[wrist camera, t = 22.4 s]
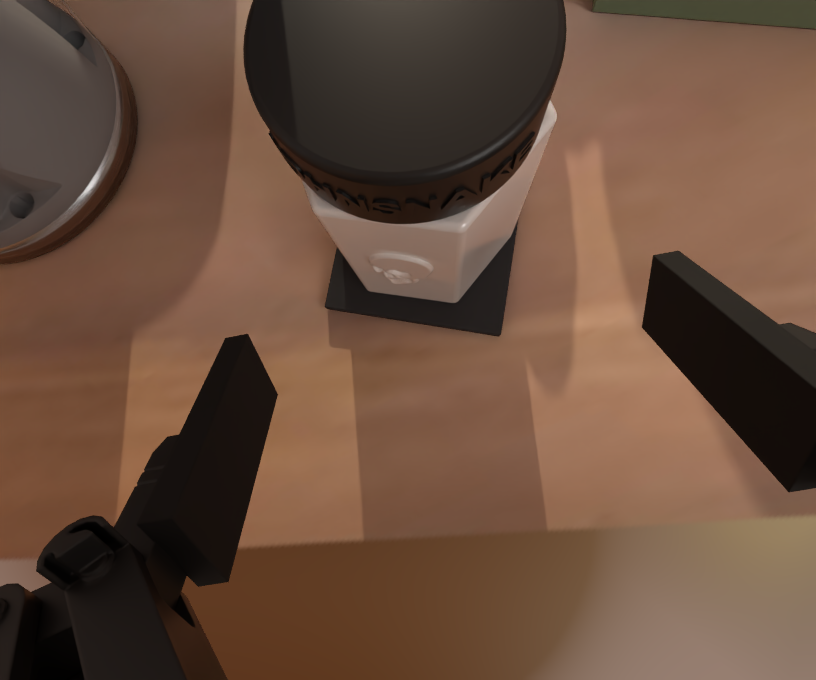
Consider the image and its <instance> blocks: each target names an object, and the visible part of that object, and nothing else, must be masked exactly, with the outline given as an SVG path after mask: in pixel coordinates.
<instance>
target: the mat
mask: <svg viewBox="0 0 816 680" xmlns="http://www.w3.org/2000/svg"><path fill="white" fill-rule="evenodd" d="M517 224H518V220H517V223H516V225H515V228H514V231H513V233H512V235H511V237H510V238H509V239H508V241H507V242H506V243H505V244H504V245H503V247H502V248H501V249H500V250H499V252H498V253H497V254H496V255H495V257H494V258H493V259H492V260H491V261H490V263H489V264H488V265H487V266H486V268H485V269H484V270H483V271H482V273H481V274H480V275H479V276H478V277H477V279H476V280H475V281H474V282H473V284H472V285H471V286H470V287H469V289H468V290H467V291H466V292H465V294H464V295H463V296H462V297H461V298H460V300H459V301H458V302H456V303H449V302H442V301H435V300H427V299H420V298H413V297H406V296H399V295H391V294H384V293H377V292H370V291H368V290H367V289H366V288H365V287H364V285H363V284H362V282H361V281H360V279H359V278H358V276H357V275H356V273H355V272H354V271H353V269H352V268H351V266H350V265H349V263H348V262H347V260H346V259H345V258H344V256H343V255H342V253H341V252H340V250H339V249H338V247H337V250H336V255H335V259H334V264H333V269H332V274H331V279H330V284H329V289H328V293H327V298H326V303H325V307H326V308H327V309H330V310H337V311H343V312H349V313H355V314H362V315H368V316H374V317H381V318H387V319H393V320H399V321H406V322H412V323H418V324H424V325H431V326H437V327H443V328H449V329H456V330H462V331H468V332H475V333H481V334H487V335H493V336H500V335H501V330H502V324H503V317H504V310H505V304H506V297H507V290H508V284H509V277H510V271H511V264H512V257H513V251H514V244H515V237H516V231H517Z"/></svg>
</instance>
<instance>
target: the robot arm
mask: <svg viewBox="0 0 816 680" xmlns="http://www.w3.org/2000/svg"><path fill="white" fill-rule="evenodd" d="M61 1H62V2H63V4H64V5H65V6H66V7H67V9H68V10H69V11H70V12H71V14H72V15H73V16H74V17H75V18H73V17H72V16H70V15H69V14H68V13H66V12H65V11H63V10H62V9H60V8H59V7H57V6H55V5H54V4H52V3H50V2H49V1H47V0H0V264H9V263H15V262H20V261H25V260H28V259H31V258H35V257H38V256H40V255H43V254H45V253H47V252H50V251H52V250H54V249H55V248H57V247H59V246H61V245H63V244H64V243H66V242H67V241H69V240H71V239H72V238H73V237H75V236H76V235H77V234H79V233H80V232H81V231H83V230H84V229H85V228H86V227H87V226H88V225H89V224H90V223H92V222H93V221H94V220H95V218H96V217H97V216H98V215H99V214H100V213H101V212H102V211H103V210H104V208H105V207H106V206H107V205H108V203H109V202H110V201H111V199H112V198H113V196H114V195H115V193H116V192H117V190H118V188H119V186H120V185H121V183H122V181H123V179H124V177H125V174H126V172H127V170H128V167H129V165H130V162H131V159H132V156H133V152H134V147H135V143H136V135H137V107H136V102H135V96H134V93H133V90H132V86H131V84H130V81H129V79H128V77H127V75H126V73H125V71H124V70H123V68H122V66H121V65H120V63H119V62H118V61H117V59H116V58H115V57H114V56H113V55H112V54H111V53H110V52H109V51H108V50H107V49H106V48H105V46H104V45H103V44H102V43H101V42H100V41H99V40H98V39H97V38H96V37H95V36H94V35H93V34H92V33H91V32H90V31H89V30H88V29H87V28H86V27H85V26H84V25H83V23H82V22H81V21H80V20H79V18H78V17H77V16H76V15H75V13H74V12H73V11H72V10H71V8H70V7H69V6H68V5H67V3H66V2H65V1H64V0H61ZM642 328H643V329H644V330H645V331H646V332H647V334H648V335H649V336H650V337H651V338H652V339H653V340H654V341H655V343H656V344H657V345H658V346H659V347H660V348H661V349H662V350H663V352H664V353H665V354H666V355H667V356H668V357H669V358H670V359H671V360H672V362H673V363H674V364H675V365H676V366H677V367H678V368H679V369H680V371H681V372H682V373H683V374H684V375H685V376H686V377H687V378H688V380H689V381H690V382H691V383H692V384H693V385H694V386H695V387H696V389H697V390H698V391H699V392H700V393H701V394H702V395H703V396H704V398H705V399H706V400H707V401H708V402H709V403H710V404H711V405H712V407H713V408H714V409H715V410H716V411H717V412H718V413H719V414H720V416H721V417H722V418H723V419H724V420H725V421H726V422H727V423H728V425H729V426H730V427H731V428H732V429H733V430H734V431H735V432H736V434H737V435H738V436H739V437H740V438H741V439H742V440H743V441H744V443H745V444H746V445H747V446H748V447H749V448H750V449H751V450H752V452H753V453H754V454H755V455H756V456H757V457H758V458H759V459H760V461H761V462H762V463H763V464H764V465H765V466H766V467H767V468H768V470H769V471H770V472H771V473H772V474H773V475H774V476H775V477H776V479H777V480H778V481H779V482H780V483H781V484H782V485H783V486H784V488H785V489H786V490H787V491H788V492H794V491H800V490H806V489H812V488H816V333H814V332H812V331H809V330H807V329H804V328H802V327H799V326H797V325H794V324H792V323H786V324H780V325H779V324H777V323H776V322H775V321H773V320H772V319H770V318H769V317H768V316H766V315H765V314H764V313H762V312H761V311H760V310H758V309H757V308H756V307H754V306H753V305H751V304H750V303H749V302H747V301H746V300H745V299H743V298H742V297H741V296H739V295H738V294H737V293H735V292H734V291H732V290H731V289H730V288H728V287H727V286H726V285H724V284H723V283H722V282H720V281H719V280H718V279H716V278H715V277H713V276H712V275H711V274H709V273H708V272H707V271H705V270H704V269H703V268H701V267H700V266H699V265H697V264H696V263H694V262H693V261H692V260H690V259H689V258H688V257H686V256H685V255H684V254H682V253H681V252H680V251H674V252H669V253H663V254H658V255H653V260H652V267H651V273H650V279H649V286H648V292H647V298H646V305H645V311H644V317H643V324H642ZM277 395H278V394H277V392H276V390H275V388H274V386H273V384H272V382H271V380H270V378H269V376H268V374H267V372H266V370H265V368H264V365H263V363H262V361H261V359H260V357H259V355H258V353H257V351H256V349H255V347H254V345H253V343H252V341H251V339H250V337H249V335H248V334H244V335H239V336H234V337H229V338H225V340H224V342H223V344H222V346H221V349H220V351H219V353H218V355H217V357H216V359H215V361H214V363H213V365H212V367H211V369H210V371H209V374H208V376H207V378H206V380H205V382H204V384H203V386H202V388H201V390H200V392H199V394H198V397H197V399H196V401H195V403H194V405H193V407H192V409H191V411H190V413H189V415H188V417H187V420H186V422H185V424H184V426H183V428H182V430H181V432H180V434H179V435H174V436H169V437H167V438H166V439H165V440H164V441H163V442H162V443H161V444H160V445H159V446H158V448H157V449H156V450H155V451H154V452H153V453H152V455H151V457H150V459H149V461H148V463H147V465H146V467H145V469H144V470H145V472H144V473H142V474H141V476H140V478H139V480H138V482H137V486H136V487H135V488H134V490H133V492H132V494H131V496H130V497H129V499H128V501H127V503H126V505H125V507H124V509H123V511H122V513H121V515H120V517H119V519H118V521H117V522H116V524H115V526H114V527H113V526H111V525H110V524H109V523H108V522H107V521H106V520H105V519H104V518H103V517H101V516H89V517H85V518H82V519H79V520H77V521H76V522H74V523H72V524H70V525H68V526H67V527H65V528H64V529H63V530H62V531H60V532H59V533H58V534H57V535H55V536H54V537H53V539H52V540H51V541H50V542H49V543H48V544H47V545H46V547H45V548H44V549H43V551H42V553H41V555H40V557H39V559H38V561H37V569H36V571H37V572H38V573H39V574H41V575H42V576H44V577H45V578H46V579H48V580H49V581H51V582H52V583H50V584H48V585H45V586H43V587H41V588H39V589H37V590H34V591H32V592H30V591H28V590H27V589H25V588H24V587H22V586H21V585H19V584H6V585H3V586H1V587H0V680H228V679H227V677H226V675H225V673H224V671H223V669H222V667H221V665H220V663H219V661H218V659H217V657H216V655H215V653H214V651H213V649H212V647H211V645H210V643H209V641H208V639H207V637H206V635H205V633H204V631H203V629H202V627H201V625H200V623H199V621H198V619H197V616H196V614H195V612H194V610H193V608H192V606H191V604H190V602H189V600H188V598H187V597H186V596H185V595H184V594H183V593H182V592H181V590H182V587H183V584H184V582H185V579H186V576H188V577H189V578H190V579H191V580H192V581H193V582H194V583H195V584H196V585H197V586H198V587H199V586H205V585H212V584H218V583H224V582H228V581H229V578H230V574H231V570H232V566H233V562H234V559H235V555H236V551H237V547H238V544H239V540H240V536H241V532H242V528H243V525H244V521H245V517H246V513H247V509H248V506H249V502H250V498H251V494H252V490H253V487H254V483H255V479H256V475H257V471H258V468H259V464H260V460H261V456H262V452H263V449H264V445H265V441H266V437H267V433H268V430H269V426H270V422H271V418H272V414H273V411H274V407H275V403H276V399H277Z"/></svg>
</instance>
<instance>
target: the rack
mask: <svg viewBox="0 0 816 680" xmlns="http://www.w3.org/2000/svg"><path fill="white" fill-rule="evenodd" d="M592 11H593V12H605V13H618V14H631V15H644V16H657V17H669V18H682V19H695V20H708V21H720V22H733V23H746V24H759V25H771V26H784V27H797V28H810V29H816V0H593V8H592Z"/></svg>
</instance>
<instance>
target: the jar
mask: <svg viewBox="0 0 816 680" xmlns="http://www.w3.org/2000/svg"><path fill="white" fill-rule="evenodd" d="M565 42H566V14H565V7H564V1H563V0H253V2H252V5H251V8H250V12H249V15H248V19H247V24H246V29H245V35H244V48H243V49H244V67H245V74H246V79H247V82H248V86H249V90H250V93H251V96H252V99H253V101H254V103H255V106H256V108H257V110H258V112H259V114H260V116H261V117H262V119H263V121H264V122H265V124H266V125H267V127H268V128H269V130H270V133H269V135H270V137H271V139H272V140H273V142H274V143H275V145H276V146H277V148H278V149H279V151H280V152H281V154H282V155H283V157H284V158H285V160H286V161H287V163H288V164H289V165H290V167H291V168H292V169H293V170H294V171H295V172H296V174H297V175H298V176H300V177H301V180H302V183H303V186H304V188H305V191H306V194H307V197H308V200H309V202H310V205H311V208H312V210H313V212H314V214H315V215H316V217H317V218H318V220H319V221H320V223H321V224H322V226H323V227H324V228H325V230H326V231H327V233H328V234H329V236H330V237H331V239H332V240H333V242H334V243H335V244H336V246H337V247H338V249H339V250H340V252H341V253H342V255H343V256H344V258H345V259H346V260H347V262H348V263H349V265H350V266H351V268H352V269H353V271H354V272H355V273H356V275H357V276H358V278H359V279H360V281H361V282H362V284H363V285H364V287H365V288H366V289H367V290H368V291H370V292H377V293H384V294H391V295H399V296H406V297H413V298H420V299H427V300H435V301H442V302H449V303H456V302H458V301H459V300H460V298H461V297H462V296H463V295H464V294H465V292H466V291H467V290H468V289H469V287H470V286H471V285H472V284H473V282H474V281H475V280H476V279H477V277H478V276H479V275H480V274H481V273H482V271H483V270H484V269H485V268H486V266H487V265H488V264H489V263H490V261H491V260H492V259H493V258H494V257H495V255H496V254H497V253H498V252H499V250H500V249H501V248H502V247H503V245H504V244H505V243H506V242H507V241H508V239H509V238H510V237H511V235H512V233H513V231H514V228H515V225H516V223H517V220H518V218H519V215H520V212H521V210H522V207H523V205H524V202H525V200H526V197H527V194H528V192H529V189H530V187H531V184H532V182H533V179H534V176H535V174H536V171H537V169H538V166H539V164H540V161H541V158H542V156H543V153H544V151H545V148H546V146H547V143H548V140H549V138H550V135H551V133H552V130H553V128H554V125H555V122H556V120H557V113H556V110H555V108H554V106H553V104H552V102H551V100H550V98H551V95H552V92H553V90H554V87H555V84H556V81H557V78H558V75H559V72H560V68H561V65H562V61H563V57H564V51H565Z"/></svg>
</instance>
